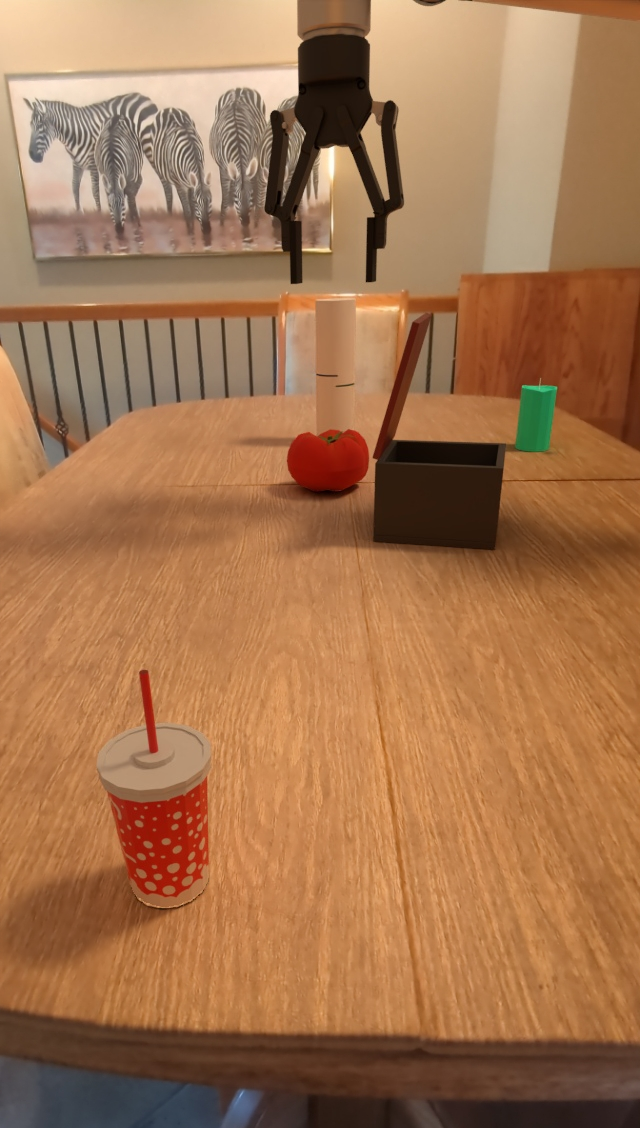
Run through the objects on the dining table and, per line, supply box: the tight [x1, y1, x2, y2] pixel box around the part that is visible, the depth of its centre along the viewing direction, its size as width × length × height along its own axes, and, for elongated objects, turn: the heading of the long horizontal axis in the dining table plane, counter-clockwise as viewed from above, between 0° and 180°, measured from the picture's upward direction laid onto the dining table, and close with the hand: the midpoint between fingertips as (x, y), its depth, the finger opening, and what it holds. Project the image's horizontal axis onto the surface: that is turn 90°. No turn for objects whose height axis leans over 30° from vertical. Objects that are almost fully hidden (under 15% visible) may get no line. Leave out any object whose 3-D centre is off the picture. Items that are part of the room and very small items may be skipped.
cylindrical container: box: [314, 297, 357, 436], centre depth 139 cm, size 7×7×25 cm
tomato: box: [286, 429, 370, 493], centre depth 114 cm, size 13×12×8 cm
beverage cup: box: [95, 669, 212, 907], centre depth 41 cm, size 6×6×14 cm
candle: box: [514, 377, 558, 453], centre depth 133 cm, size 6×6×12 cm
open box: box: [372, 439, 507, 551], centre depth 96 cm, size 15×13×10 cm
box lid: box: [372, 312, 433, 461], centre depth 91 cm, size 16×13×1 cm
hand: (333, 282), depth 88 cm, fingers open, 8 cm apart
